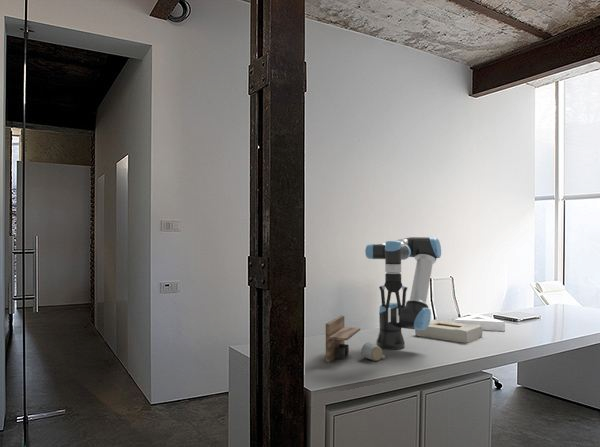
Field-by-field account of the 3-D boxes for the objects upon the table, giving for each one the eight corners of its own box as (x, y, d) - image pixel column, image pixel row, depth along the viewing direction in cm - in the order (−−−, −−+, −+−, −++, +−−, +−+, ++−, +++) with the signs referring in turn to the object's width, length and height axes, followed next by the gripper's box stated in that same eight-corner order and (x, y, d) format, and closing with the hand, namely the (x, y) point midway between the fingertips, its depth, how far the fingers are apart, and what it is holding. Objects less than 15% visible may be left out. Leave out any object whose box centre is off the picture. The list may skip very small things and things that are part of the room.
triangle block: (454, 329, 309) (454, 319, 309) (454, 322, 334) (454, 313, 334) (505, 332, 300) (504, 321, 300) (500, 324, 325) (500, 315, 325)
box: (414, 336, 288) (467, 344, 267) (414, 323, 288) (467, 330, 267) (432, 331, 305) (482, 337, 284) (432, 319, 305) (482, 324, 284)
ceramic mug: (371, 362, 227) (372, 346, 227) (361, 358, 234) (361, 342, 234) (388, 359, 232) (389, 343, 233) (377, 356, 239) (378, 340, 240)
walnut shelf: (360, 351, 249) (360, 316, 249) (347, 364, 224) (347, 325, 225) (340, 349, 252) (340, 315, 253) (325, 362, 228) (325, 323, 228)
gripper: (374, 273, 230) (375, 322, 229) (409, 274, 224) (409, 324, 223) (377, 272, 237) (378, 319, 236) (411, 272, 231) (412, 321, 230)
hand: (393, 321), depth 230 cm, fingers open, 3 cm apart
